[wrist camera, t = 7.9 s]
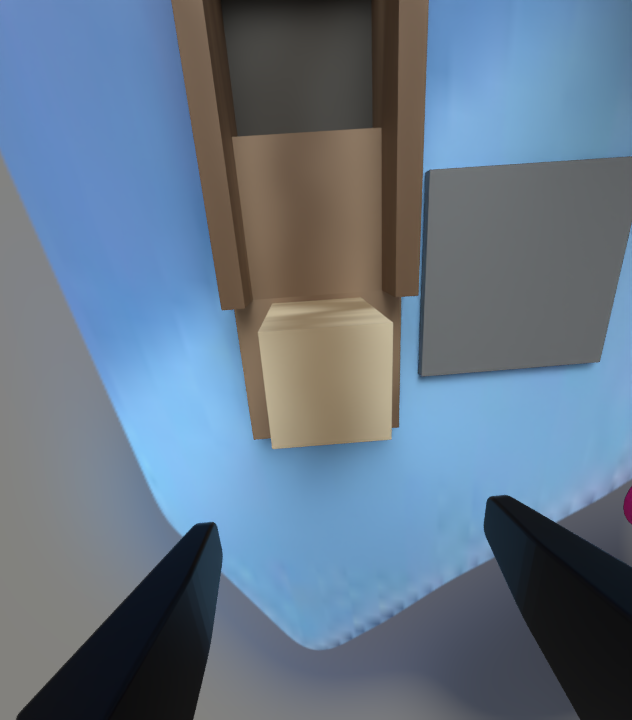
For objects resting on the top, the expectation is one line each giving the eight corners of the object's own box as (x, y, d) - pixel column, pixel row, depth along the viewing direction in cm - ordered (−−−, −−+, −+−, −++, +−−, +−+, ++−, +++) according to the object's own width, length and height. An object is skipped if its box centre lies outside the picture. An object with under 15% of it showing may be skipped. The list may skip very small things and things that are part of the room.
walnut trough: (393, -119, 13) (438, -294, 9) (389, 411, 21) (413, 452, 17) (182, -109, 13) (125, -284, 9) (257, 422, 21) (247, 466, 17)
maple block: (360, 297, 17) (393, 322, 11) (362, 379, 18) (391, 439, 12) (272, 303, 16) (257, 332, 11) (280, 385, 18) (272, 449, 12)
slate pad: (635, 158, 17) (647, 155, 16) (591, 358, 20) (599, 362, 20) (425, 172, 17) (430, 170, 16) (418, 372, 20) (421, 376, 20)
